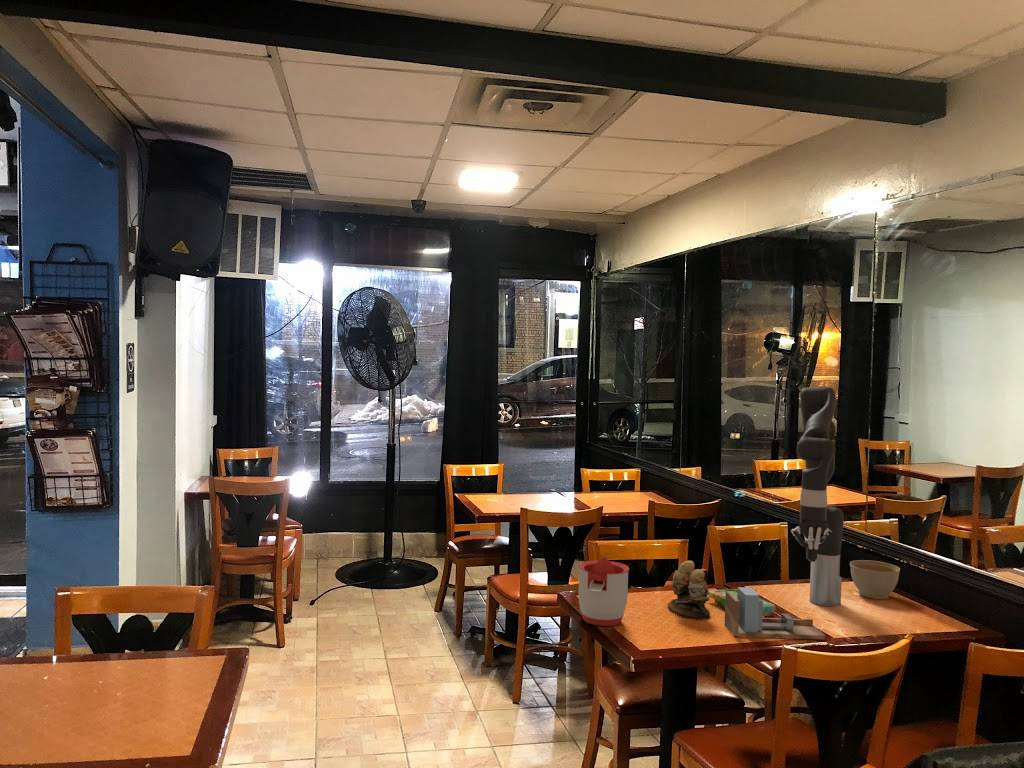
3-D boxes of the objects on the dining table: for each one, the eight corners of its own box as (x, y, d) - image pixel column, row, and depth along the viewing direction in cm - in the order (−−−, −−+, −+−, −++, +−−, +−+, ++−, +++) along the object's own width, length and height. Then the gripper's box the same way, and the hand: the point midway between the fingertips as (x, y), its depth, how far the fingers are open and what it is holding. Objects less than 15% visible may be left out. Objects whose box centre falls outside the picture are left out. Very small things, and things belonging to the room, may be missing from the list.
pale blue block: (749, 623, 233) (750, 587, 232) (757, 632, 225) (759, 595, 224) (736, 622, 233) (737, 587, 232) (744, 631, 225) (745, 594, 224)
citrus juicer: (568, 626, 228) (570, 560, 228) (584, 610, 244) (586, 548, 244) (619, 634, 222) (621, 567, 222) (632, 617, 238) (634, 554, 238)
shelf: (811, 627, 234) (813, 593, 233) (825, 639, 224) (826, 603, 223) (724, 625, 234) (725, 591, 233) (734, 636, 224) (735, 601, 223)
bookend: (785, 623, 232) (786, 594, 232) (794, 632, 225) (796, 602, 225) (749, 622, 232) (750, 593, 232) (757, 630, 225) (758, 600, 225)
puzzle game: (746, 606, 239) (707, 588, 258) (745, 621, 239) (706, 602, 258) (775, 603, 243) (735, 586, 262) (775, 617, 243) (735, 599, 262)
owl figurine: (721, 619, 239) (723, 566, 239) (689, 623, 235) (691, 569, 235) (689, 602, 256) (690, 552, 256) (658, 605, 252) (660, 554, 251)
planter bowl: (843, 587, 280) (844, 558, 280) (889, 591, 278) (890, 561, 277) (856, 600, 264) (857, 569, 264) (905, 604, 262) (907, 573, 262)
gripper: (830, 502, 232) (827, 558, 232) (787, 501, 232) (784, 557, 232) (840, 506, 224) (838, 564, 225) (796, 505, 224) (794, 563, 224)
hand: (811, 561), depth 228 cm, fingers closed
